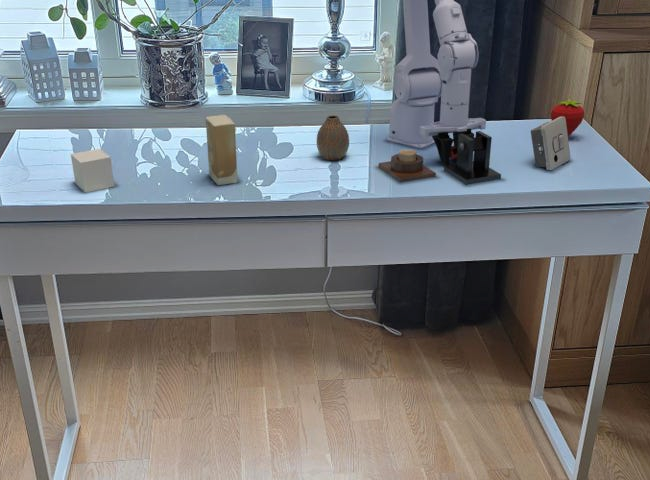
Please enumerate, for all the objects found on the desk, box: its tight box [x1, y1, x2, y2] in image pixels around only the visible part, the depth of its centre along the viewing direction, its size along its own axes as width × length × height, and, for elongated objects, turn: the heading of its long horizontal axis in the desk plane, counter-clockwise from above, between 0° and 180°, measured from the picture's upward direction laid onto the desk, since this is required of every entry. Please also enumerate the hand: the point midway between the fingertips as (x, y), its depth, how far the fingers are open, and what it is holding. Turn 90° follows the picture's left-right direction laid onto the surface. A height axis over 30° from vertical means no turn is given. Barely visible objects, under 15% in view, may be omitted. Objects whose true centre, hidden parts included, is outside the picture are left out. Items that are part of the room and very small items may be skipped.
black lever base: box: [443, 130, 502, 186], centre depth 181 cm, size 9×8×8 cm
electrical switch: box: [530, 117, 571, 171], centre depth 187 cm, size 9×5×9 cm, turn 141°
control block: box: [378, 153, 437, 183], centre depth 184 cm, size 10×8×3 cm
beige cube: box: [70, 148, 115, 193], centre depth 177 cm, size 6×6×6 cm
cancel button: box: [397, 148, 417, 162], centre depth 183 cm, size 4×4×2 cm
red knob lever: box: [450, 136, 483, 160], centre depth 184 cm, size 12×3×3 cm, turn 24°
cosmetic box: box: [205, 114, 239, 186], centre depth 178 cm, size 6×4×12 cm
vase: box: [316, 114, 350, 161], centre depth 190 cm, size 7×7×9 cm
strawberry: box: [549, 92, 585, 138], centre depth 201 cm, size 6×8×10 cm
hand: (450, 166), depth 190 cm, fingers closed on red knob lever, 2 cm apart
